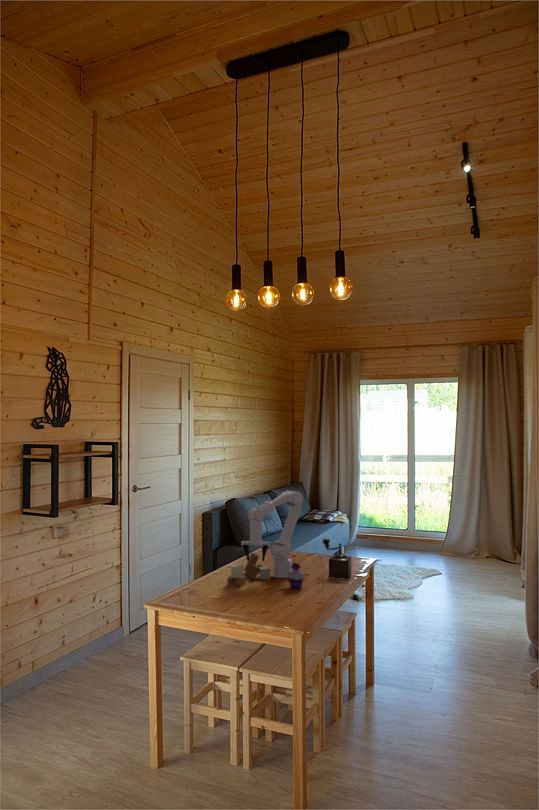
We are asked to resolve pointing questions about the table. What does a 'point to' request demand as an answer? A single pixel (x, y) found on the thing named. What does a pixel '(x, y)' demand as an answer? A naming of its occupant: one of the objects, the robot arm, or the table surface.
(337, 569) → the manual coffee grinder
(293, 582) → the potion bottle
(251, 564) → the wooden block set
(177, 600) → the table surface
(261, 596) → the table surface
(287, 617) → the table surface
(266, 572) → the slate cube
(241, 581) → the walnut base
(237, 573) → the sage cube
